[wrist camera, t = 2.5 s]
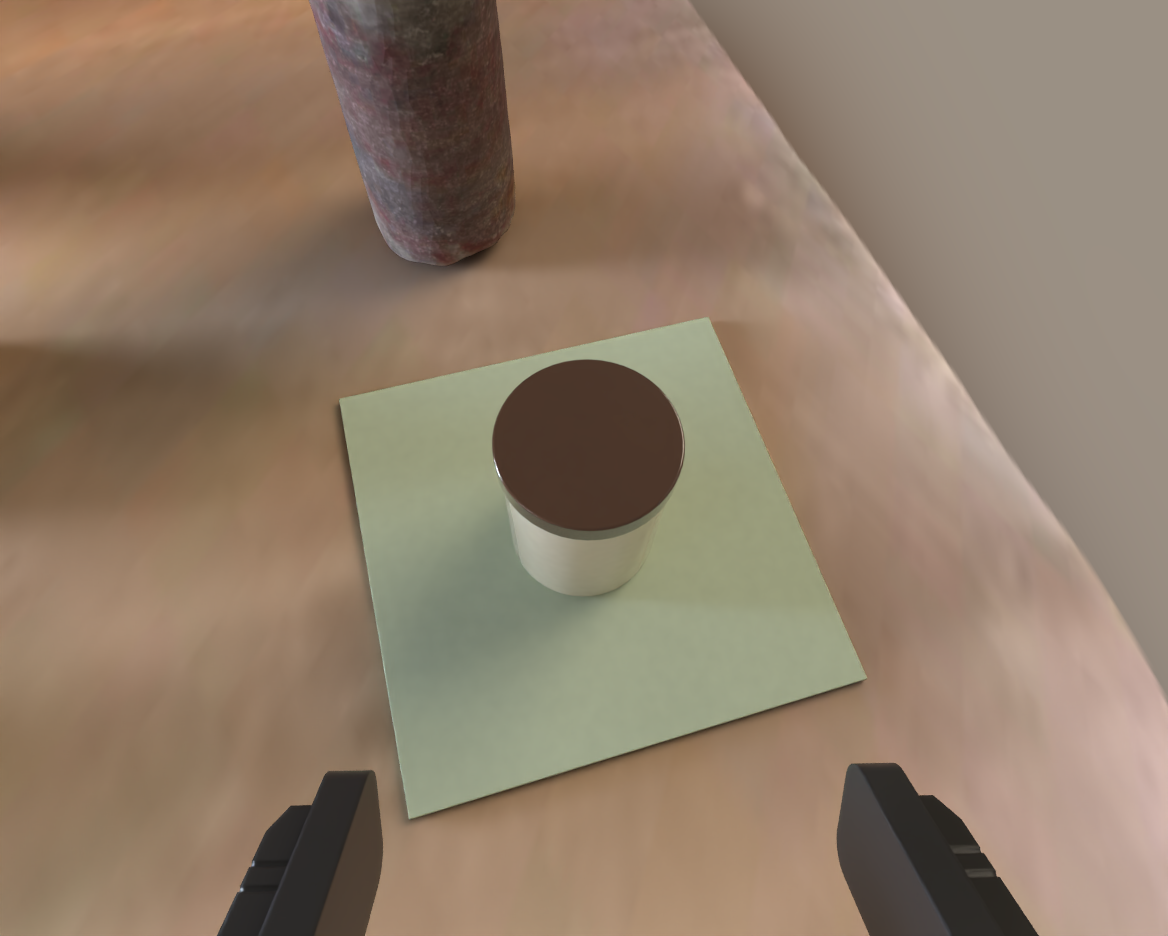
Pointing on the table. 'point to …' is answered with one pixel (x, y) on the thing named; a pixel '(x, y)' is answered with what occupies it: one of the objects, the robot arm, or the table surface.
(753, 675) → the desk mat
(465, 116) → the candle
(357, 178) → the table surface
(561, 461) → the jar
